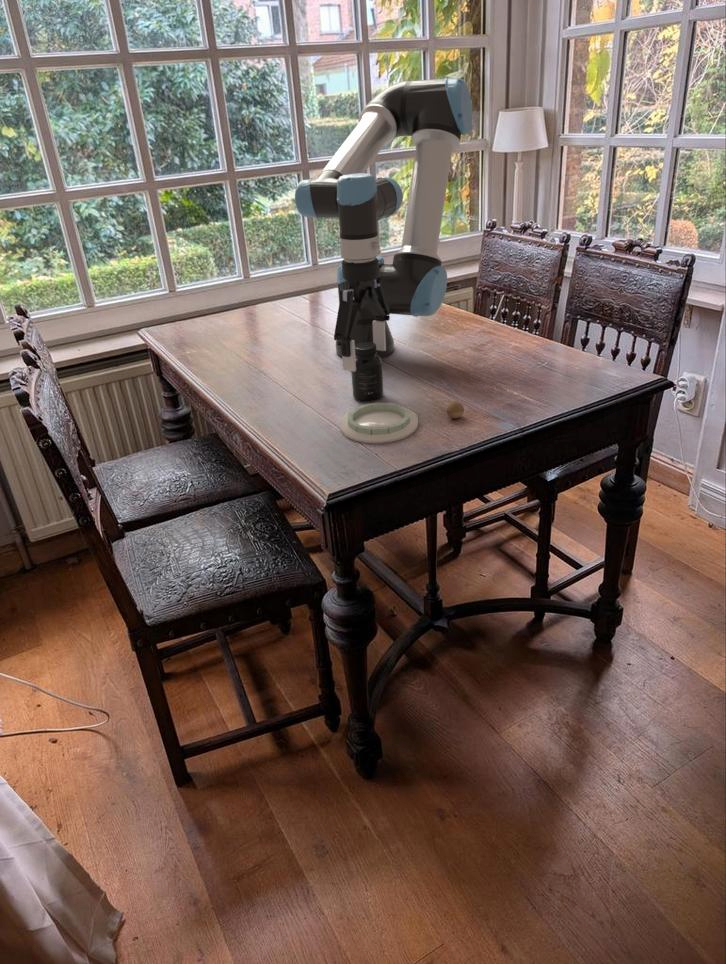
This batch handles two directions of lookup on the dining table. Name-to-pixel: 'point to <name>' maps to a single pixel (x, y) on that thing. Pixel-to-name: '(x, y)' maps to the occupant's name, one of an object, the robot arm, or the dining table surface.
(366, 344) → the supplement bottle
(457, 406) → the wooden bead
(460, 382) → the dining table surface
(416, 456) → the dining table surface
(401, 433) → the plate
